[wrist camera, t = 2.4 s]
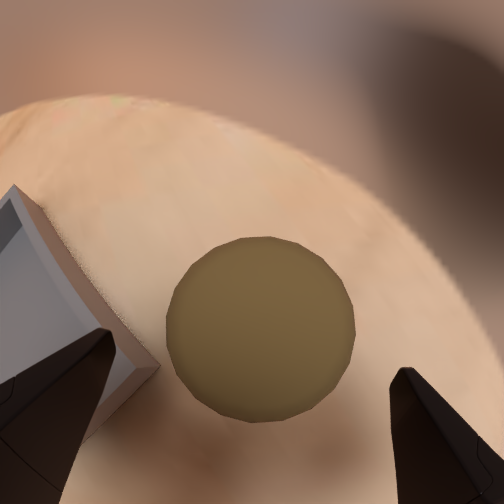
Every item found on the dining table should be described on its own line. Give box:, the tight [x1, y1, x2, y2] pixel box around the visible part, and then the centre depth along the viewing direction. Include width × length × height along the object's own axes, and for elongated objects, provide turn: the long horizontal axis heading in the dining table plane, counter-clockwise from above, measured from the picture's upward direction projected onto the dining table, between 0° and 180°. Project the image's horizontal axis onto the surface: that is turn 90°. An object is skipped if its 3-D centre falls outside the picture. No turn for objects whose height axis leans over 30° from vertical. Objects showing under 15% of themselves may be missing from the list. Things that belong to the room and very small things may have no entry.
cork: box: [166, 237, 356, 423], centre depth 12 cm, size 6×6×11 cm
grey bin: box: [0, 184, 161, 446], centre depth 14 cm, size 16×16×4 cm
